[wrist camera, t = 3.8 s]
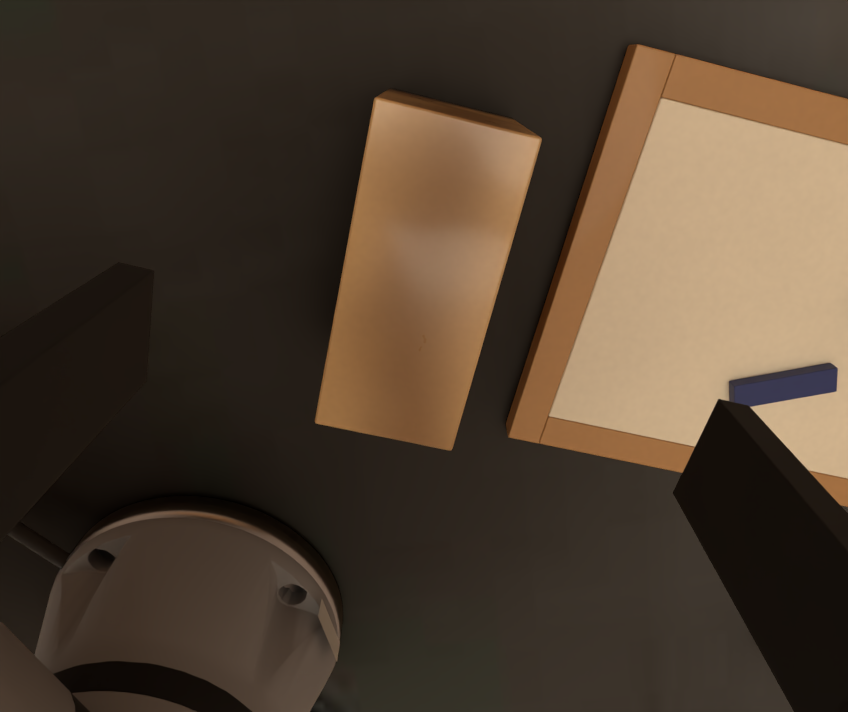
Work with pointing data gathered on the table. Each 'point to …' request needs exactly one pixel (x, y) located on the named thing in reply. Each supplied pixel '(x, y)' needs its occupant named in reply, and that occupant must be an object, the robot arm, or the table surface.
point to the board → (697, 270)
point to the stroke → (784, 385)
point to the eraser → (422, 266)
